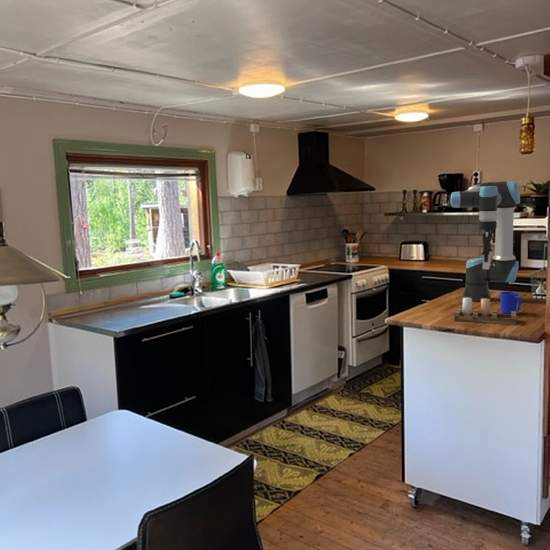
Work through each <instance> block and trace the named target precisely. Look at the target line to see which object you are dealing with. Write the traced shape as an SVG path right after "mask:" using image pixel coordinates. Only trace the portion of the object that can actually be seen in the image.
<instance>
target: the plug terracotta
mask: <svg viewBox="0 0 550 550" xmlns="http://www.w3.org/2000/svg"><path fill="white" fill-rule="evenodd" d="M480 313H481V315H480V317H490V313H491V300H490V299H486V298H483V299H481V302H480Z"/></svg>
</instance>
